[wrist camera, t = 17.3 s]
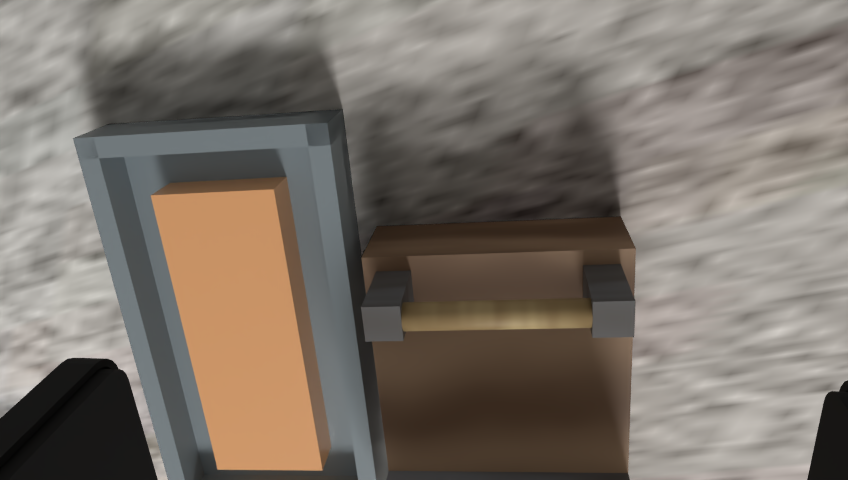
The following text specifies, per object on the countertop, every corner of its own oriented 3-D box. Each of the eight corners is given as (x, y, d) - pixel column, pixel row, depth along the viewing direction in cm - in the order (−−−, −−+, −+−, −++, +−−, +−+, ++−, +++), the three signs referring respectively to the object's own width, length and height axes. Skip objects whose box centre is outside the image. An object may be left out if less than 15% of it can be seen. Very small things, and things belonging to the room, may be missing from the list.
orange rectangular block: (170, 182, 33) (150, 195, 32) (286, 176, 33) (273, 189, 31) (231, 446, 39) (217, 469, 37) (331, 446, 38) (322, 470, 37)
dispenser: (376, 226, 34) (299, 383, 21) (620, 216, 32) (697, 380, 20) (406, 478, 40) (359, 722, 27) (614, 480, 38) (669, 740, 25)
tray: (108, 124, 34) (73, 138, 31) (342, 109, 32) (327, 122, 29) (198, 476, 42) (177, 512, 39) (389, 478, 40) (381, 516, 37)
